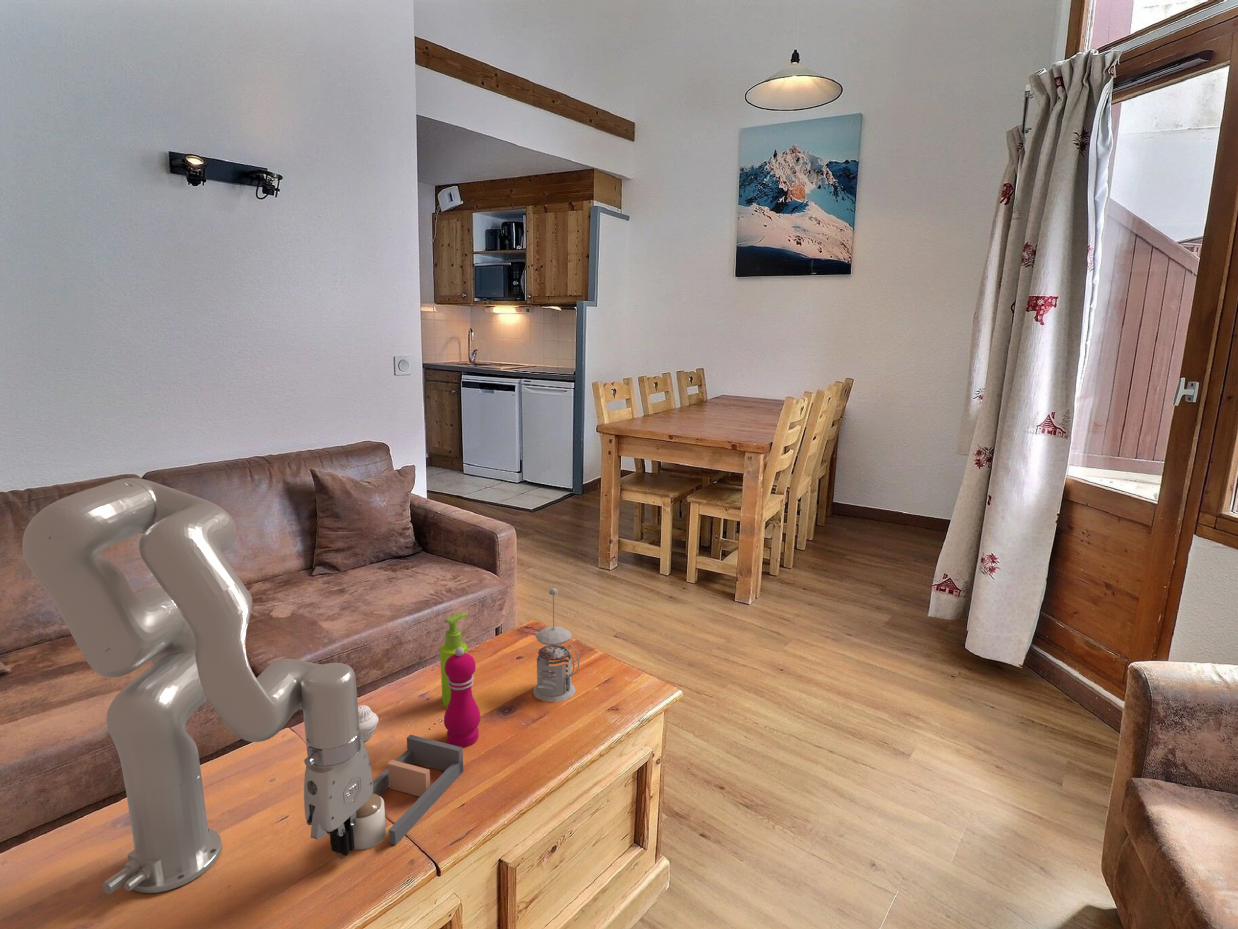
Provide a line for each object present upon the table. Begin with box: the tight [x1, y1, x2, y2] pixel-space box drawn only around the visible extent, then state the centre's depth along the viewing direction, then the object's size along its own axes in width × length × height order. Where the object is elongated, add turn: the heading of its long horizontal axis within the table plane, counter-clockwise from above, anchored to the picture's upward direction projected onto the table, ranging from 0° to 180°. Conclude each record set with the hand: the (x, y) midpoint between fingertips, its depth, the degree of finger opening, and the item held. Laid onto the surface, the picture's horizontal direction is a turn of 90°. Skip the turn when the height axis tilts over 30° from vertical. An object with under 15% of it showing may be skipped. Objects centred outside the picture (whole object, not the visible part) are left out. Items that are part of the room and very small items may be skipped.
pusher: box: [387, 759, 431, 798], centre depth 124 cm, size 1×8×5 cm, turn 70°
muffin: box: [358, 704, 379, 743], centre depth 139 cm, size 6×6×7 cm
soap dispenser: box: [439, 612, 469, 708], centre depth 152 cm, size 6×7×20 cm
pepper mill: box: [443, 647, 481, 748], centre depth 138 cm, size 7×7×20 cm
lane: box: [373, 734, 464, 846], centre depth 122 cm, size 20×12×5 cm, turn 160°
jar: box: [352, 793, 387, 851], centre depth 113 cm, size 6×6×6 cm
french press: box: [532, 587, 580, 703], centre depth 156 cm, size 10×12×25 cm
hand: (343, 850), depth 108 cm, fingers closed
